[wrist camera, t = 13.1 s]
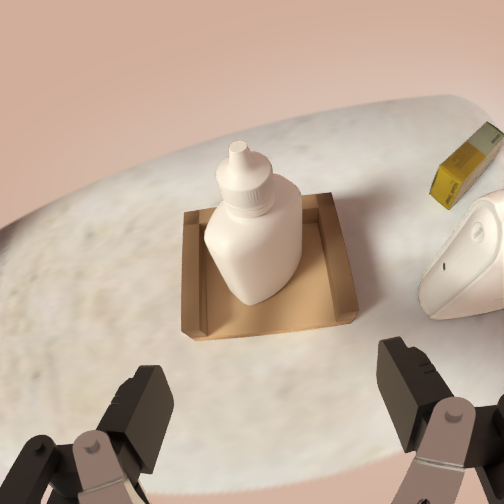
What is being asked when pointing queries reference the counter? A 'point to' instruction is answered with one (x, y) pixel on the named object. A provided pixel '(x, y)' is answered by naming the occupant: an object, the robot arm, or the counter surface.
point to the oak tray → (281, 303)
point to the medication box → (466, 165)
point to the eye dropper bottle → (254, 226)
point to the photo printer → (468, 265)
